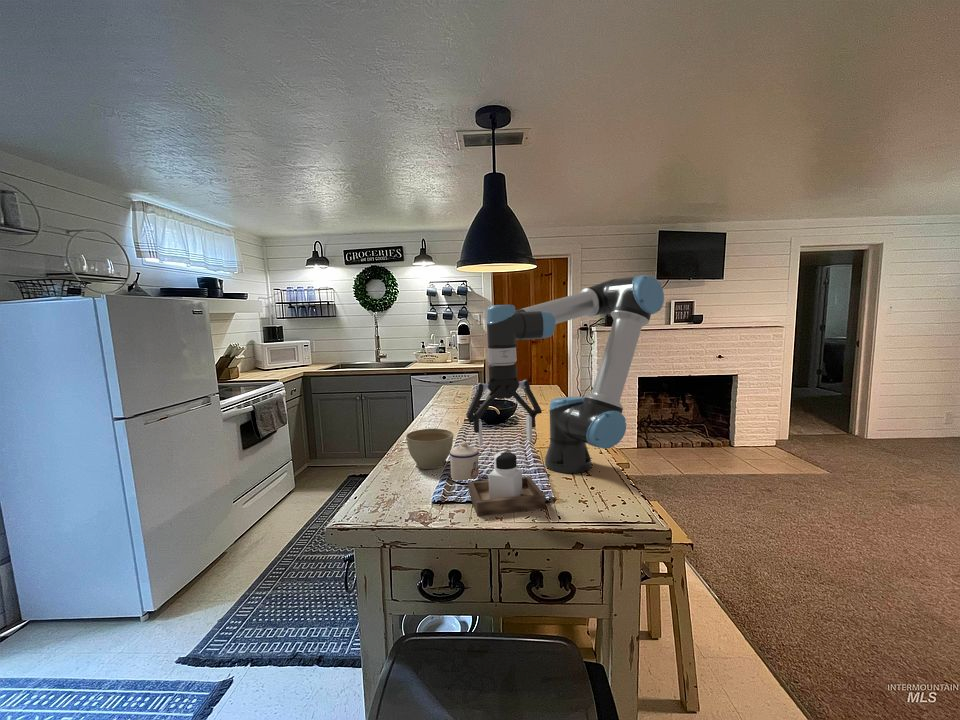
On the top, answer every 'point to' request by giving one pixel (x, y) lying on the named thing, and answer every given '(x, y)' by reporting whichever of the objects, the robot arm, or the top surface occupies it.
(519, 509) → the holder tray
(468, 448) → the teacup with lid
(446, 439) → the planter bowl
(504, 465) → the medicine bottle
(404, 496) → the top surface
